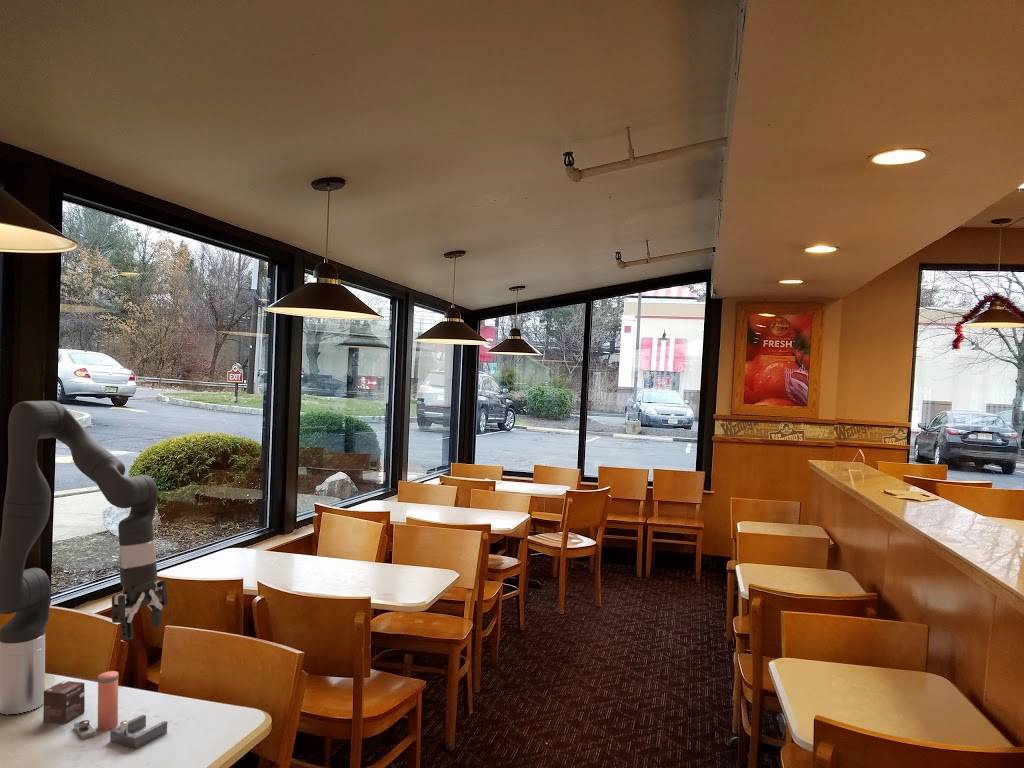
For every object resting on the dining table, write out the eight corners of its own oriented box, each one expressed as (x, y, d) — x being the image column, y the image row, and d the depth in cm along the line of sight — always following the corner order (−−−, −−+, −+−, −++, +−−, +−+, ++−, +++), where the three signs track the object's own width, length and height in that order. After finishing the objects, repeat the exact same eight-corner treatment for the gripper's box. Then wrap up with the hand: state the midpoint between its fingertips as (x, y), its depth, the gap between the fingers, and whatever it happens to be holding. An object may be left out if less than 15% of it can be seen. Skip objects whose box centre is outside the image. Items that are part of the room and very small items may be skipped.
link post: (94, 726, 159) (95, 674, 159) (115, 720, 162) (115, 669, 162) (100, 733, 156) (100, 680, 156) (120, 726, 159) (121, 674, 159)
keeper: (108, 742, 152) (108, 719, 152) (142, 725, 159) (143, 703, 159) (133, 750, 149) (133, 727, 148) (167, 732, 156) (167, 711, 156)
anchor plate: (73, 728, 158) (73, 718, 158) (86, 724, 160) (86, 714, 160) (82, 739, 153) (82, 729, 153) (94, 735, 155) (95, 725, 155)
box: (64, 725, 159) (64, 693, 159) (42, 722, 160) (42, 691, 160) (85, 712, 165) (85, 682, 165) (64, 710, 166) (64, 679, 166)
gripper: (147, 555, 167) (151, 623, 166) (99, 570, 153) (104, 643, 152) (173, 554, 165) (178, 622, 164) (127, 569, 151) (132, 643, 150)
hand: (142, 632), depth 158 cm, fingers open, 8 cm apart
